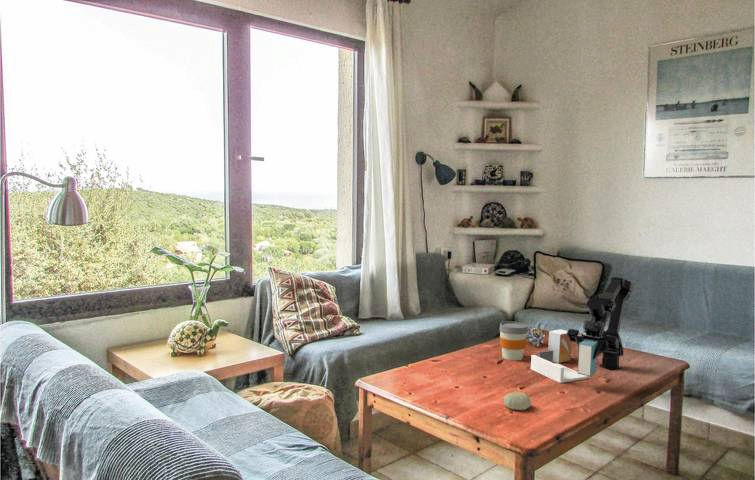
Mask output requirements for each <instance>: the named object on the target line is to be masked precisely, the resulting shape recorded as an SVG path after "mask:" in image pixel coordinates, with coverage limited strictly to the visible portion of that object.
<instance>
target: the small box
mask: <svg viewBox="0 0 755 480" xmlns="http://www.w3.org/2000/svg"><path fill="white" fill-rule="evenodd" d="M567 332H568V330H565V329H562V328H561V329H555V330H550V331H548V347H547V351H549V350H552V351H553V363H558V364H561V363H565V362H570V361H571V353H572V341H570V340H569V338H568V335H567Z"/></svg>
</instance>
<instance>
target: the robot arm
mask: <svg viewBox="0 0 755 480" xmlns="http://www.w3.org/2000/svg"><path fill="white" fill-rule="evenodd" d="M633 291H634V283H633V282H632V281H631V280H627V279H626V278H623V277H617V276H611V277H610V281H609V283H608V285H607V286H606V288H605V290H604V292H602V293H599V294H598V295H594V297H591V298H590V299H588V300H587V302H586V306H587V308H588V309H587V310H588V311H589V314H590V315H591V318H590V320H585V319H584V321H583V326H582V329H583V332H584V333H585V334H584V333H582V332H580V330H579V329H574V328H568V329H567V331H568V332H567V335H568V338H569V340H570V341H571V343H572V342H573V343H576V344H577V345H578V346H577V347H578V350H577V351H579V343H581V342H582V341H584V340H586V341H592V342H597V343H598V344H597V347H596V350H595V352H594V355H593V359H595V358H596V357H597V358H598V356H600V355H601V354H602V357H601V363H600V364H599V367H602V368H604V369H607V370H609V371H613V370H614V371H615V370H620V369H621V370H622V366H620V357H622V356H624V352H625V351H624V350H625V349H624V346H623V342H622V337H621V335H620V329H621V324H622V319H623V315H624V310H625V305H626V301H628V300H629V298H631V295H632V293H633ZM608 313H610V316H609V314H608ZM608 318H609V322H608ZM607 322H608V326H607V329H606V330H605V328H606V324H607Z"/></svg>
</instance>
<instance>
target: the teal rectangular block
mask: <svg viewBox="0 0 755 480" xmlns="http://www.w3.org/2000/svg"><path fill="white" fill-rule="evenodd" d="M597 345H598V342H594V341H589V340H584V341H582V342H581V343H579V350H578V356H577V360H578V361H577V372H578V374H581V375H586V376H588V377H592V376H593V375H595V374H596V372H597V359H598V357H596V358H595V359H593V355H594V352H595V350H596V347H597Z"/></svg>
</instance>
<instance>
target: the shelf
mask: <svg viewBox="0 0 755 480" xmlns="http://www.w3.org/2000/svg"><path fill="white" fill-rule="evenodd" d="M537 354H538V355H536V354H531V355H530V356H531V357H530V359H531V360H530V370H531V371H534V372H536V373H538V374H541V375H542V376H544V377H547V378H549V379H551V380H553V381H555V382H558V383H559V384H562V383H563V384H564V383H568V382H575V381H580V380H582V381H583V380H588V378H589V376H586V375H581V374H578V370H574V369H572V368H569V367H567V366H565V365H562V364H561V363H557V362H553V351H552V350H549V351H548V350H542V351H537Z"/></svg>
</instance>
